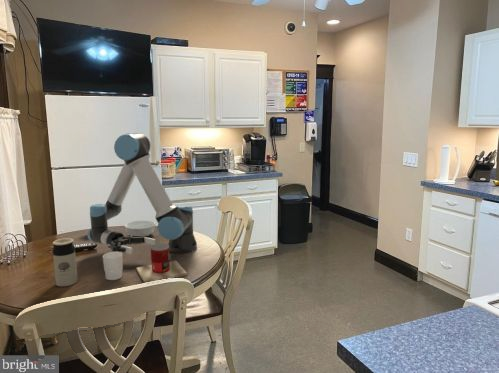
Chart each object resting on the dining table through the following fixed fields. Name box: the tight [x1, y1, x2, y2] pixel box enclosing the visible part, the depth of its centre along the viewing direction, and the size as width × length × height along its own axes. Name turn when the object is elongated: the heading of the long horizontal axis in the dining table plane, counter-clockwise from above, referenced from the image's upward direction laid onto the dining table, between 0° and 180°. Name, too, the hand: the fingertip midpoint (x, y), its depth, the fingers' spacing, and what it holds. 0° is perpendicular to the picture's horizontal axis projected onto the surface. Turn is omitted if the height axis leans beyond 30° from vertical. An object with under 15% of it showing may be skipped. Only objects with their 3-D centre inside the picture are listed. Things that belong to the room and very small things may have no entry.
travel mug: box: [52, 237, 79, 288], centre depth 145 cm, size 8×8×18 cm
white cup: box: [102, 251, 124, 281], centre depth 152 cm, size 8×8×10 cm
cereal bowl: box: [124, 220, 156, 236], centre depth 208 cm, size 17×17×7 cm
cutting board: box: [136, 260, 187, 284], centre depth 157 cm, size 18×16×1 cm
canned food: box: [150, 242, 171, 273], centre depth 156 cm, size 8×8×11 cm
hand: (143, 246), depth 161 cm, fingers open, 13 cm apart
